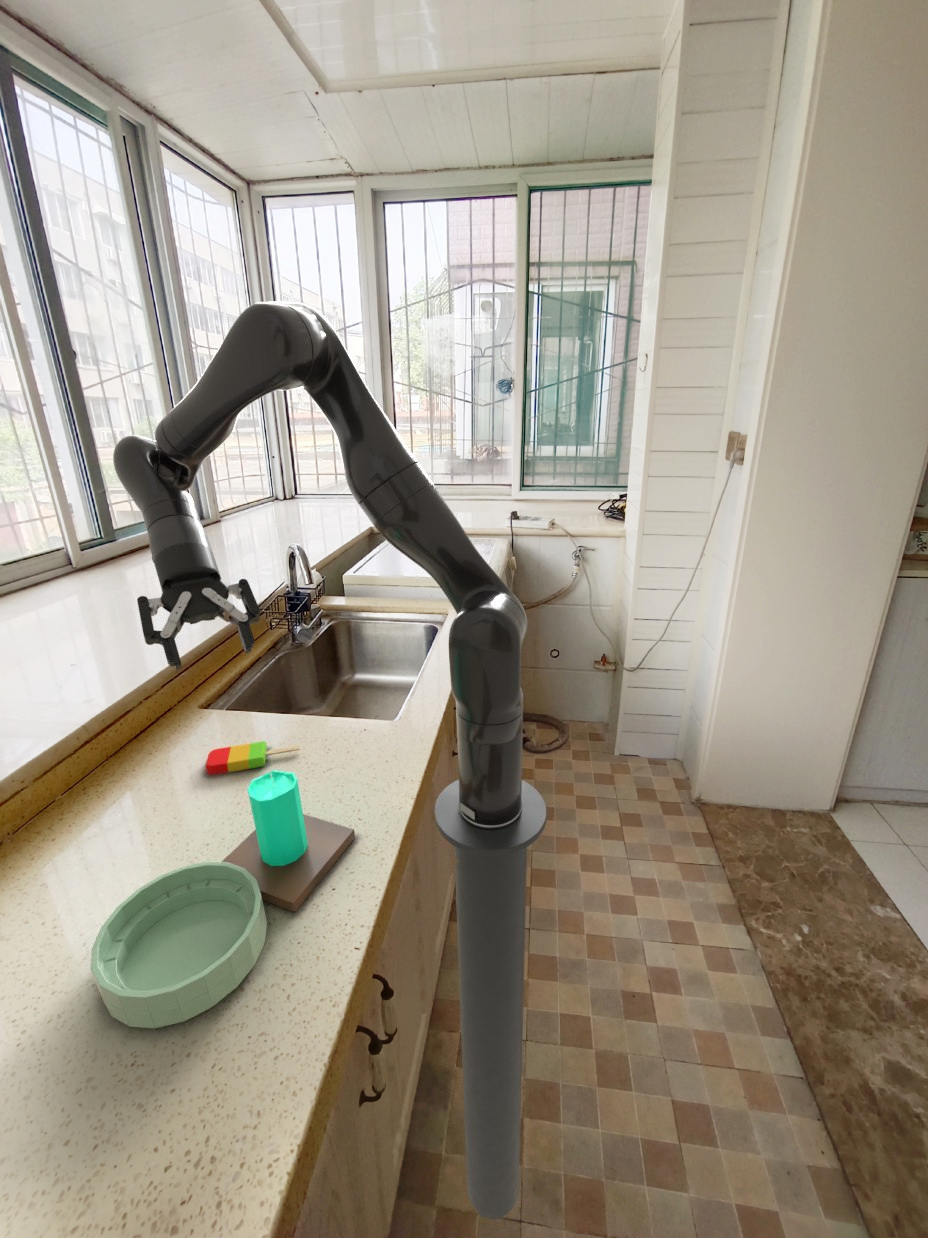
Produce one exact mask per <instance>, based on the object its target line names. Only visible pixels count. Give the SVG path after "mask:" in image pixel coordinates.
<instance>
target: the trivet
mask: <svg viewBox="0 0 928 1238" xmlns="http://www.w3.org/2000/svg"><path fill="white" fill-rule="evenodd" d="M303 818H304V824H305V830H306V836H307V842H308V845H307V847H306V850H305V853H304V854H303V855H302V856H301V857H299V858H298V859H297V860H296V861H294V862H292V863H289V864H287V865H284V866H271V865H269V864H267V863H265V862H263V860H262V856H261V853H260V848H259V843H258V838H257V833H256V829H254V831H252V832H251V833H249V835H248V836H247V837H246V838H245V839H244V840H243V841H242V842H241V843H240V844H238V846H236V847H235V849H233V850H232V851H231V852H230V853H229V854H228V855H227V856H226V857H225V858H224V859H223V860H222V861H221V862H228V863H231V864H234V865H237V866H239V867H242V868H245V869H246V870H247V871H248V872H249V873H250V874H251V875H252V876H253V877H254V878H255V879H256V880H257V883H258V886H259V890H260V893H261V896H262V901H263V902H267V903H269V904H272V905H274V906H277V907H279V908H283V909H285V910H287V911H290V912H292V913H296V912H297V911H298V910H299V908H300V907H301V906H302V905H303V903H304V902H305V901H306V899H308V897H309V896H310V895H311V893H312V892H313V891H314V890H315V889H316V887H317V886H318V885H319V883H320V882H321V881H322V880H323V879H324V877H325V876H326V875H327V874H328V872H329V871H330V870H331V868H332V867H333V866H334V865H335V864H336V862H337V861H338V860H339V858H340V857H341V856H342V855H343V854H344V853H345V851H346V850H347V849H348V848H349V846H350V845H351V844H352V842H353V841H354V840H355V839H356V832H355V829H354V828H352V827H351V828H350V827H348V826H345V825H341V824H337V823H335V822H332V821H329V820H324V819H321V818H318V817H315V816H311V815H308V814H305V813H303Z"/></svg>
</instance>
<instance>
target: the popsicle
mask: <svg viewBox="0 0 928 1238" xmlns="http://www.w3.org/2000/svg"><path fill="white" fill-rule="evenodd" d="M267 749H268V746H267V741H265V740H263V741H258V742H257V741H256V742H251V743H245V744H239V745H232V746H226V747H221V748H216V749H212V750H211V751H210V752H209V753H208V756H207V759H206V762H205V770H206V772H207V774H208V775H211V776H215V775H221V774H227V773H233V772H238V771H245V770H250V769H255V768H256V769H257V768H260V767H264V766H265V765H266V758H267V757H266V756H273V755H278V754H283V753H291V752H295V751H300V750H301V746H300V745H295V746H288V747H283V748H277V749H270V750H267Z"/></svg>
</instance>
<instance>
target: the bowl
mask: <svg viewBox="0 0 928 1238" xmlns="http://www.w3.org/2000/svg"><path fill="white" fill-rule="evenodd" d="M267 927H268V921H267V916H266V911H265V906H264V900H262V896H261V893H260V890H259V886H258V883H257V880H256V879H255V878H254V877H253V876H252V875H251V874H250V873H249V872H248V871H247V870H246V869H245V868H242V867H239V866H237V865H234V864H231V863H228V862H222V861H204V862H198V863H194V864H187V865H184V866H181V867H179V868H176V869H173V870H171V871H168V872H166V873H163V874H161V875H159V876H157V877H156V878H154V879H152V880H151V881H149V882H148V883H146V884H144V885H143V886H140V887H139V888H137V889H136V890H135V891H134V892H133V893H132V894H130V895H129V896H128V897H127V898H126V899H125V900H123V901H122V902H121V903H120V904H118V906H116V908H115V909H114V911H113V912H112V913H111V914H110V915H109V916H108V918H107V919H106V921H105V922H104V923H103V924H102V926H101V927H100V929H99V931H98V933H97V936H96V938H95V940H94V943H93V945H92V948H91V957H90V971H91V974H92V976H93V979H94V981H95V984H96V987H97V990H98V992H99V995H100V997H101V1000H102V1002H103V1003H104V1005H105V1007H106V1009H107V1011H108V1013H109V1015H110V1017H112V1018H113V1019H115V1020H117V1021H119V1022H121V1023H122V1024H124V1025H127V1027H130V1028H131V1027H132V1028H144V1029H158V1028H162V1027H167V1026H171V1025H174V1024H175V1025H176V1024H179V1023H184V1022H186V1021H189V1020H190V1019H192V1018H193V1017H196V1016H198V1015H200V1014H202V1013H204V1012H206V1011H208V1010H209V1009H211V1008H213V1007H214V1006H216V1005H217V1004H218V1003H219V1002H221V1001H222V1000H223V999H224V998H226V997H227V996H229V994H230V993H232V992H233V991H234V990H235V989H237V988H238V987H239V986H240V984H241V983H242V981H243V980H244V979H245V978H246V977H247V976H248V974H249V973H250V972H251V970H252V969H253V968H254V967H255V965H256V963H257V960H258V958H259V956H260V955H261V952H262V950H263V947H264V945H265V943H266V935H267Z"/></svg>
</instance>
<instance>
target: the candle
mask: <svg viewBox="0 0 928 1238" xmlns="http://www.w3.org/2000/svg"><path fill="white" fill-rule="evenodd" d="M247 793H248V797H249V802H250V803H249V804H250V808H251V811H252V812H251V813H252V818H253V822H254V828H255V830H256V833H257V838H258V843H259V848H260V853H261V856H262V860H263V862H265V863H267V864H269V865H271V866H284V865H287V864H289V863H292V862H294V861H296V860H297V859H298V858H299V857H301V856H302V855H303V854H304V853H305V850H306V847H307V845H308V842H307V836H306V830H305V824H304V818H303V814H304V813H303V805H302V800H301V793H300V787H299V781H298V778H297V776H296V774H295V772H290V771H283V770H277V769H276V770H275V769H273V770H271V771H269V772H267V773H265V774H262V775H260V776H259V777H256V778H254V779H251V782H250V783H249V786H248V787H247Z"/></svg>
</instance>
